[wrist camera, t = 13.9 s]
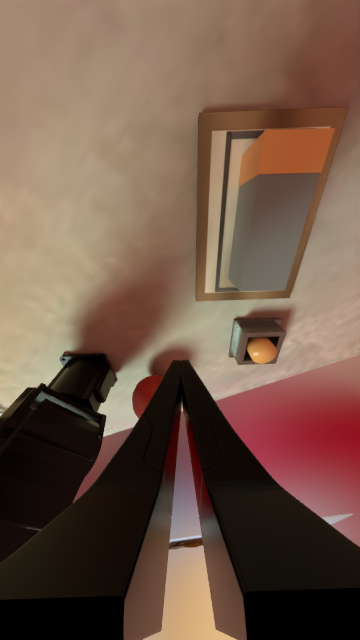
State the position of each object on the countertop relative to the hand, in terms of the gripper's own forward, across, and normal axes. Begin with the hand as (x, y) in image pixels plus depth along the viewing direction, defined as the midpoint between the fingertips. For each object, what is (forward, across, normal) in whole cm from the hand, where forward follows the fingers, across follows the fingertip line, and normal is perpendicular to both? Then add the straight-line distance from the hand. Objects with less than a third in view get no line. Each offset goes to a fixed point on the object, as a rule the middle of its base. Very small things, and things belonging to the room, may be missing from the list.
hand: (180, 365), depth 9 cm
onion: (+12, +4, +14) cm, 19 cm away
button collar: (+12, -10, +7) cm, 17 cm away
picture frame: (+12, -8, -6) cm, 16 cm away
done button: (+11, -10, +7) cm, 16 cm away
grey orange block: (+11, -8, -6) cm, 15 cm away
